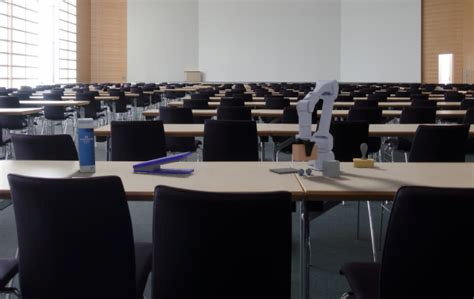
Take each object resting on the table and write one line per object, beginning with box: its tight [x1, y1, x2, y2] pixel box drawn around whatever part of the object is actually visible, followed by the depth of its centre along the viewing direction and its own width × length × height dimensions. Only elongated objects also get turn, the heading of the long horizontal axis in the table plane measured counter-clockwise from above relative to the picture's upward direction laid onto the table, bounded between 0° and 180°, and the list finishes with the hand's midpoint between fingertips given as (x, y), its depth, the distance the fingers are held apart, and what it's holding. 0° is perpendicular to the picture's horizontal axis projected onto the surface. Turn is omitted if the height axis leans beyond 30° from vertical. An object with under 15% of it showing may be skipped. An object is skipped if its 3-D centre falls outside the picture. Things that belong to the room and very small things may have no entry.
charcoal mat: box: [269, 167, 299, 175], centre depth 255 cm, size 12×10×1 cm
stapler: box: [132, 151, 195, 175], centre depth 258 cm, size 12×28×10 cm, turn 76°
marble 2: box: [304, 167, 313, 175], centre depth 246 cm, size 3×3×3 cm
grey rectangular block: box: [321, 159, 341, 178], centre depth 241 cm, size 6×6×7 cm
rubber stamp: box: [352, 143, 375, 168], centre depth 268 cm, size 10×6×12 cm, turn 79°
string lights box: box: [76, 117, 97, 174], centre depth 262 cm, size 13×8×26 cm, turn 18°
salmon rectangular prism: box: [291, 144, 318, 162], centre depth 244 cm, size 10×6×7 cm, turn 112°
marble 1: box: [297, 168, 305, 176], centre depth 245 cm, size 3×3×3 cm
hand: (304, 155), depth 244 cm, fingers closed on salmon rectangular prism, 6 cm apart
